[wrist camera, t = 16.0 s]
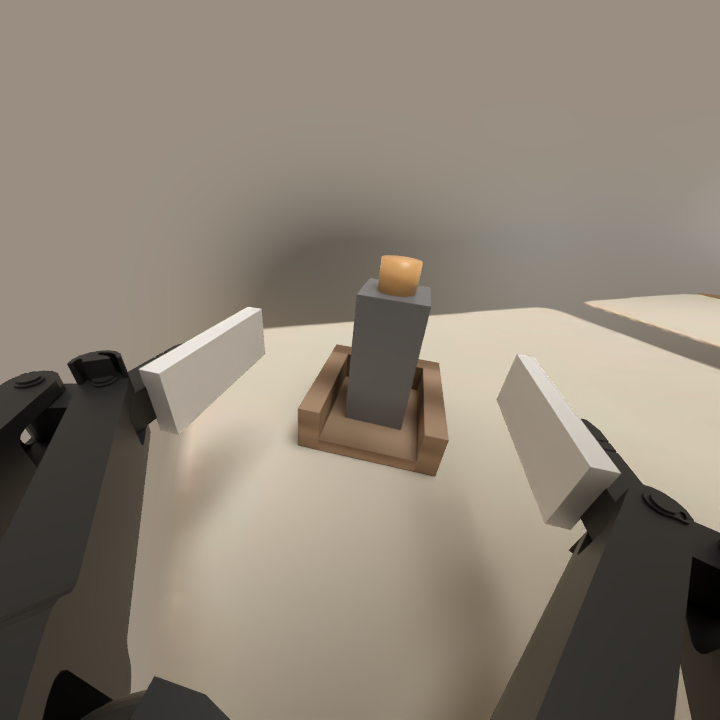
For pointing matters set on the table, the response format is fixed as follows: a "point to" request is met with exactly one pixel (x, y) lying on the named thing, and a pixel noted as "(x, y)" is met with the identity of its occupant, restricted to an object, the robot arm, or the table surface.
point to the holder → (370, 441)
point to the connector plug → (387, 342)
